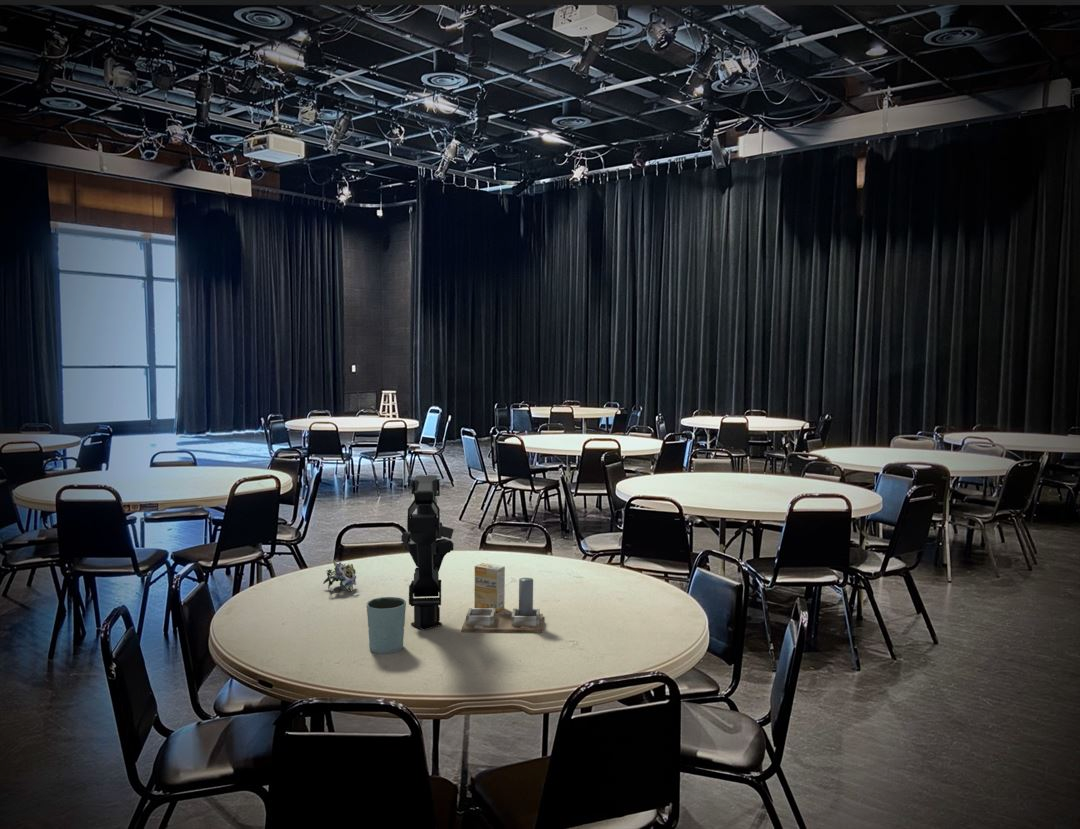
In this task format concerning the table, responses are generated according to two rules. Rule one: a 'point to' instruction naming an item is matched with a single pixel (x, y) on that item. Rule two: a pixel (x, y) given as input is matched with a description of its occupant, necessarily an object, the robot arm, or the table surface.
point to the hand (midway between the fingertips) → (427, 569)
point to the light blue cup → (386, 624)
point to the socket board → (501, 621)
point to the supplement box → (489, 586)
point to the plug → (525, 597)
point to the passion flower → (342, 576)
